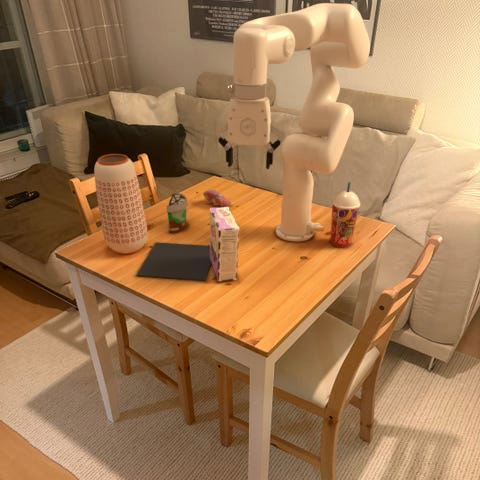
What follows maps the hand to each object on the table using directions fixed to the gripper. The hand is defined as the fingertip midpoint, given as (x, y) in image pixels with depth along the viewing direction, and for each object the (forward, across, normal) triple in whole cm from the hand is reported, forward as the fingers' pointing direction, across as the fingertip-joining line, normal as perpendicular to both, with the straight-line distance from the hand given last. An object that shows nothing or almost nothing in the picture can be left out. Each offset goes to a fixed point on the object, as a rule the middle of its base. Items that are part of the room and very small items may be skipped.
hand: (249, 166), depth 115 cm
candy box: (+30, -7, -1) cm, 31 cm away
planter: (+31, -40, +7) cm, 51 cm away
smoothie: (+31, +27, +21) cm, 46 cm away
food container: (+31, -27, +24) cm, 48 cm away
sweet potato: (+31, -19, +44) cm, 57 cm away
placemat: (+30, -22, +1) cm, 37 cm away
